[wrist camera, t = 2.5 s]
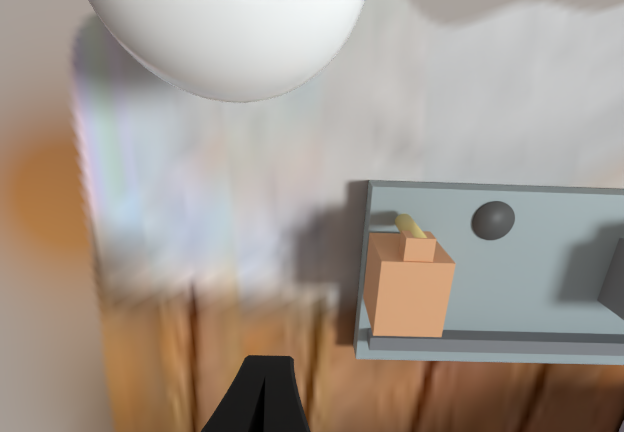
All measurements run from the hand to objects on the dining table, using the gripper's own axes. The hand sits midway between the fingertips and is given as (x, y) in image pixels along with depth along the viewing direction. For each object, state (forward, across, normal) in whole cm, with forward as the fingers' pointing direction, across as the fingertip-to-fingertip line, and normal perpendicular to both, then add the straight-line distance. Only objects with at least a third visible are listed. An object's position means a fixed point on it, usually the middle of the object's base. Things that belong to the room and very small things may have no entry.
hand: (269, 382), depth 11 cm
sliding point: (+8, -6, -1) cm, 9 cm away
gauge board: (+9, -12, +1) cm, 15 cm away
